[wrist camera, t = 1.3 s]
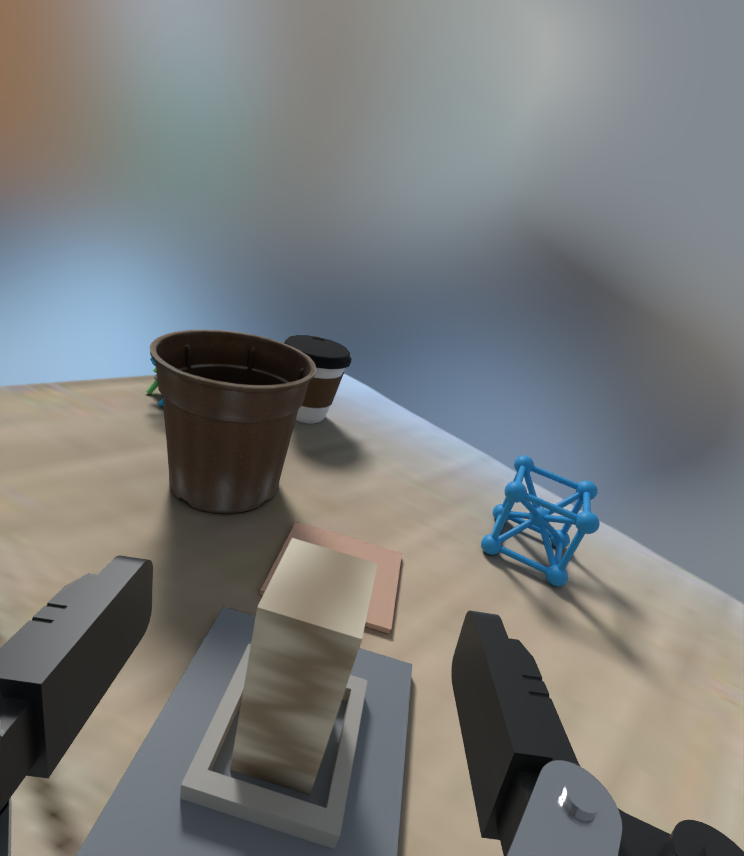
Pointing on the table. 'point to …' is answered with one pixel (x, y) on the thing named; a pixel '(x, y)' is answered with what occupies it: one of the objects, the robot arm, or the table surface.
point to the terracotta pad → (386, 559)
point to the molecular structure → (543, 520)
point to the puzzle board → (250, 797)
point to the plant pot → (228, 414)
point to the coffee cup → (320, 374)
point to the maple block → (300, 663)
